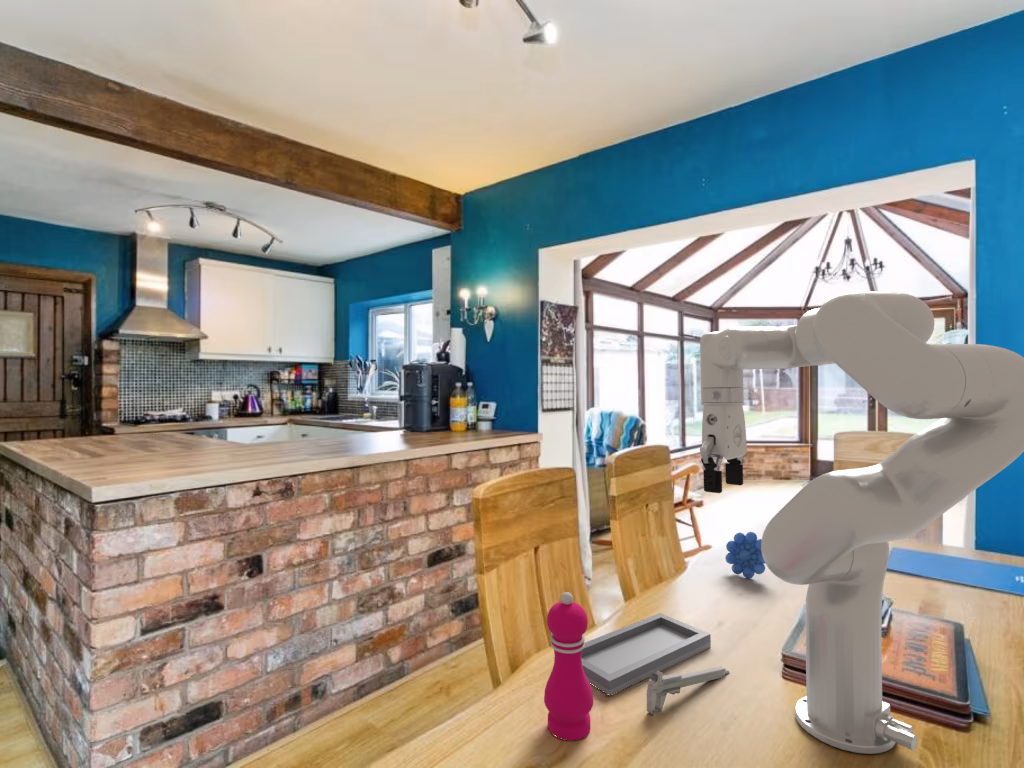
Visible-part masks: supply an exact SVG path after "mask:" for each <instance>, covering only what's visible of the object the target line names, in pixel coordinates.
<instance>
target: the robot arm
mask: <svg viewBox="0 0 1024 768" xmlns="http://www.w3.org/2000/svg"><path fill="white" fill-rule="evenodd" d="M934 330H935V316H934V313H933V311H932V310H931V308H930V306H928V304H927V303H926V302H924V301H923V300H922V299H920V298H919V297H917V296H914V295H912V294H908V293H903V292H895V291H892V292H891V291H876V290H875V291H873V290H871V291H870V290H849V291H844V292H841V293H838V294H835V295H834V296H832V297H830V298H828V299H827V300H825V301H824V302H823V304H822V305H821V306H819V307H818V308H817V307H816V308H813V309H811V310H808V311H807V312H805V313H804V314H803V315H802V316H801V317H800V318H799V320H798V321H797V324H794V325H787V326H757V325H756V326H747V325H746V326H745V325H744V326H743V325H742V326H733V327H729V328H726V329H723V330H722V331H712V332H706V333H704V334H703V335H701V337H700V339H699V353H700V356H699V357H700V359H699V362H700V365H699V366H700V402H701V403H700V405H701V406H703V408H702V409H703V410H702V419H701V421H702V423H701V446H700V447H699V454H700V456H701V460H700V462H701V463H702V466H701V467H702V470H703V491H704V492H707V493H713V494H721V493H723V471H722V470H720V469H721V465H722V463H723V460H724V459H725V460H726V462H725V466H724V468H725V483H726V485H732V486H743V484H744V458H743V457H744V456H745V455H746V454H747V452H748V449H747V448H748V444H747V433H746V432H747V430H746V421H745V420H746V419H745V412H744V411H745V410H744V407H743V406H744V405H745V403H744V400H745V399H744V398H745V397H744V370H780V369H781V370H782V369H793V368H802V367H803V368H805V367H813V366H819V367H820V366H823V365H833V364H836V365H837V366H838V367H839V368H840V369H841V370H842V371H843V372H844V373H845V374H846V375H848V376H849V377H850V378H851V379H852V380H853V381H855V382H856V384H858V385H859V386H860V387H861V388H862V389H863V390H864V391H865V392H866V393H868V394H869V395H870V397H872V398H873V399H874V400H876V401H877V402H878V403H879V404H881V405H882V406H883V407H884V408H886V409H887V410H889V411H891V412H893V413H894V414H897V415H899V416H902V417H906V418H909V419H915V420H933V419H934V420H936V421H935V422H933V423H931V424H930V425H929V426H927V427H925V428H923V429H922V430H919V431H917V433H915V434H914V435H912V436H911V437H910V438H908V439H907V440H905V442H903V444H901V445H900V447H899V448H898V449H896V450H894V452H893V453H891V454H890V455H888V457H886V458H885V459H884V460H882V461H881V462H879V463H877V464H874V465H870V466H867V467H864V466H863V467H857V468H848V469H847V468H845V469H838V470H832V471H830V472H826V473H823V474H821V475H819V476H817V477H815V478H813V479H812V480H810V481H809V482H808V483H807V484H806V485H805V486H804V487H802V488H801V489H800V490H799V491H798V492H797V493H796V494H795V495H794V496H793V497H792V498H791V499H790V500H789V501H788V502H787V503H786V504H785V505H784V506H783V507H782V508H781V509H780V510H779V511H778V512H777V513H776V514H775V515H774V516H772V518H771V519H769V522H768V523H767V525H766V527H765V528H764V530H763V533H762V537H761V539H762V541H761V550H762V556H763V559H764V561H765V565H766V566H767V568H768V569H769V571H770V572H771V573H772V574H773V575H774V576H775V577H777V579H780V580H782V581H783V582H785V583H788V584H791V585H798V586H805V585H808V586H807V590H806V594H805V595H806V597H805V613H804V614H805V672H806V673H805V674H806V675H805V676H806V677H805V679H806V681H805V682H806V685H805V688H806V692H805V693H806V696H803V697H801V698H800V699H798V700H797V702H796V703H795V707H794V708H795V709H794V712H795V719H796V720H797V723H798V724H799V725H800V726H801V728H802V729H803V730H805V731H806V733H808V734H809V735H811V736H812V737H814V738H815V739H817V740H819V741H820V742H823V743H824V744H828V746H831V747H834V748H836V749H837V748H838V749H840V750H843V751H846V752H847V751H848V752H851V753H857V754H868V755H869V754H870V755H871V754H881V753H884V752H888V751H890V750H891V749H893V748H894V746H895V745H896V744H897V745H899V746H901V747H903V748H906V749H907V750H911V751H913V752H914V751H915V750H916V748H917V744H918V737H917V735H916V734H913V732H914V727H913V725H911V724H908V723H906V722H903V721H900V720H898V719H895V718H894V715H891V705H890V703H888V702H886V701H883V669H882V668H883V660H882V659H883V658H882V657H883V653H882V642H883V641H882V629H883V627H882V626H883V625H882V624H883V622H882V621H883V620H882V617H883V616H882V615H883V612H882V608H883V607H882V606H883V605H882V604H883V603H882V602H883V591H884V585H885V578H886V575H887V574H886V573H887V570H888V565H889V558H890V545H889V544H890V543H889V542H894V541H899V540H903V539H907V538H909V537H912V536H914V535H916V534H917V533H919V532H921V531H922V530H923V529H925V528H926V527H927V526H928V525H930V524H931V523H932V522H934V521H935V520H936V519H938V518H939V517H941V516H942V515H944V513H946V512H948V511H949V510H950V509H952V508H953V507H955V506H956V505H957V504H958V503H960V502H961V501H962V500H964V499H965V498H966V497H968V496H969V495H970V494H971V493H972V492H974V491H975V490H976V489H978V488H979V487H981V486H983V485H984V484H985V483H987V482H988V481H989V480H991V479H992V478H993V477H995V476H996V475H997V474H999V473H1001V472H1002V471H1003V470H1004V469H1006V468H1007V467H1008V466H1010V465H1011V464H1012V463H1013V462H1014V461H1015V460H1017V458H1019V457H1020V456H1021V455H1022V454H1023V453H1024V357H1023V356H1022V355H1021V354H1019V353H1017V352H1015V351H1013V350H1009V349H1008V348H1005V347H1000V346H995V345H990V344H980V343H977V344H976V343H927V342H928V341H929V340H930V338H931V337H932V335H933V332H934ZM937 419H938V420H937Z"/></svg>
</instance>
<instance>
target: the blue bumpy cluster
mask: <svg viewBox="0 0 1024 768" xmlns="http://www.w3.org/2000/svg"><path fill="white" fill-rule="evenodd" d="M761 541H762V538H760V539H759V538H758V536H757V533H755V532H753V531H749V532H747V533H746V534H744V533H742V532H739V531H738V532H736V534H735V535H734V536H733V540H730V541H728V542H727V543H726V545H725V546H726V550H727V552H728V553H727V554H726V555H725V562H726V563H727V564H729V565H731V570H732V573H733V574H735V575H741V574H742V576H743V577H744V578H745V579H752V578H753V577H754V576H755V574H757V575H762V574H763V573H764V572H765V571H766V566H765V565H766V563H765V561H764V559H763V556H762V550H761Z"/></svg>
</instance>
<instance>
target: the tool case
mask: <svg viewBox="0 0 1024 768" xmlns="http://www.w3.org/2000/svg"><path fill="white" fill-rule="evenodd" d="M584 643H585V647H584V648H583V650H582V654H581V659H582V666H583V670H584V672H585V675H586V677H587V679H588V681H589V683H591V684H593V685H594V686H596V687H597V688H599V689H601V690H602V691H604V692H605V693H607V694H609V696H608V697H611V696H610V695H612V694H614V693H616V692H618V691H620V692H622V691H624V690H626V689H628V688H630V687H632V686H634V685H636V684H638V683H640V681H641V682H643V681H644V679H645V680H646V678H647V679H649V678H651V677H652V671H653V672H655V673H656V672H657V670H658V671H660V672H663V671H664V670H666V669H669V668H671V667H673V666H675V665H677V664H680V663H682V662H684V661H685V660H688V659H689V658H691V657H693V656H696V655H697V654H700V653H702V652H703V651H706V650H708V649H710V648H711V646H712V645H711V643H712V642H711V633H709V632H707V631H705V630H702V629H699V628H697V627H695V626H692V625H690V624H688V623H685V622H683V621H680V620H678V619H676V618H673V617H671V616H668V615H665V614H663V613H661V612H659V613H657V614H654V615H652V616H648V617H645V618H643V619H641V620H639V621H636V622H634V623H631V624H628V625H626V626H624V627H621V628H618V629H616V630H613V631H610V632H608V633H605V634H603V635H600V636H599V637H596V638H593V639H590V640H589V641H586V642H585V641H584ZM648 677H649V678H648ZM642 680H643V681H642ZM631 685H632V686H631ZM594 686H593V687H594ZM629 686H630V687H629ZM627 687H628V688H627ZM597 688H596V689H597ZM625 688H626V689H625ZM623 689H624V690H623ZM621 690H622V691H621ZM602 691H601V692H602ZM605 693H604V694H605ZM618 693H619V692H618ZM616 694H617V693H616ZM614 695H615V694H614ZM612 696H613V695H612Z"/></svg>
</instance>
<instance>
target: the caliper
mask: <svg viewBox="0 0 1024 768" xmlns="http://www.w3.org/2000/svg"><path fill="white" fill-rule="evenodd" d="M727 674H728V675H729V674H730V670H728V669H726V667H723V666H722V665H721V666H720V665H719V666H716V667H710V668H706V669H701V670H697V671H693V672H689V673H684V674H679V673H671V674H666V675H663V671H661V672H660V671H658V670H657V672H656V673H655V672H653V671H652V676H651V677H650V679H649V678H648V683H647V689H646V711H647V712H648V713H649V714H651V715H653V716H654V715H655V711H657V712H659V713H660V712H661V713H662V711H663V708H664V704H665V700H666V698H667V694H670V695H675V694H680V692H681V688H682V689H683V688H685V687H689V686H693V685H697V684H701V683H706V682H709V681H713V680H719V679H721V678H724V676H726V675H727Z"/></svg>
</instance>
